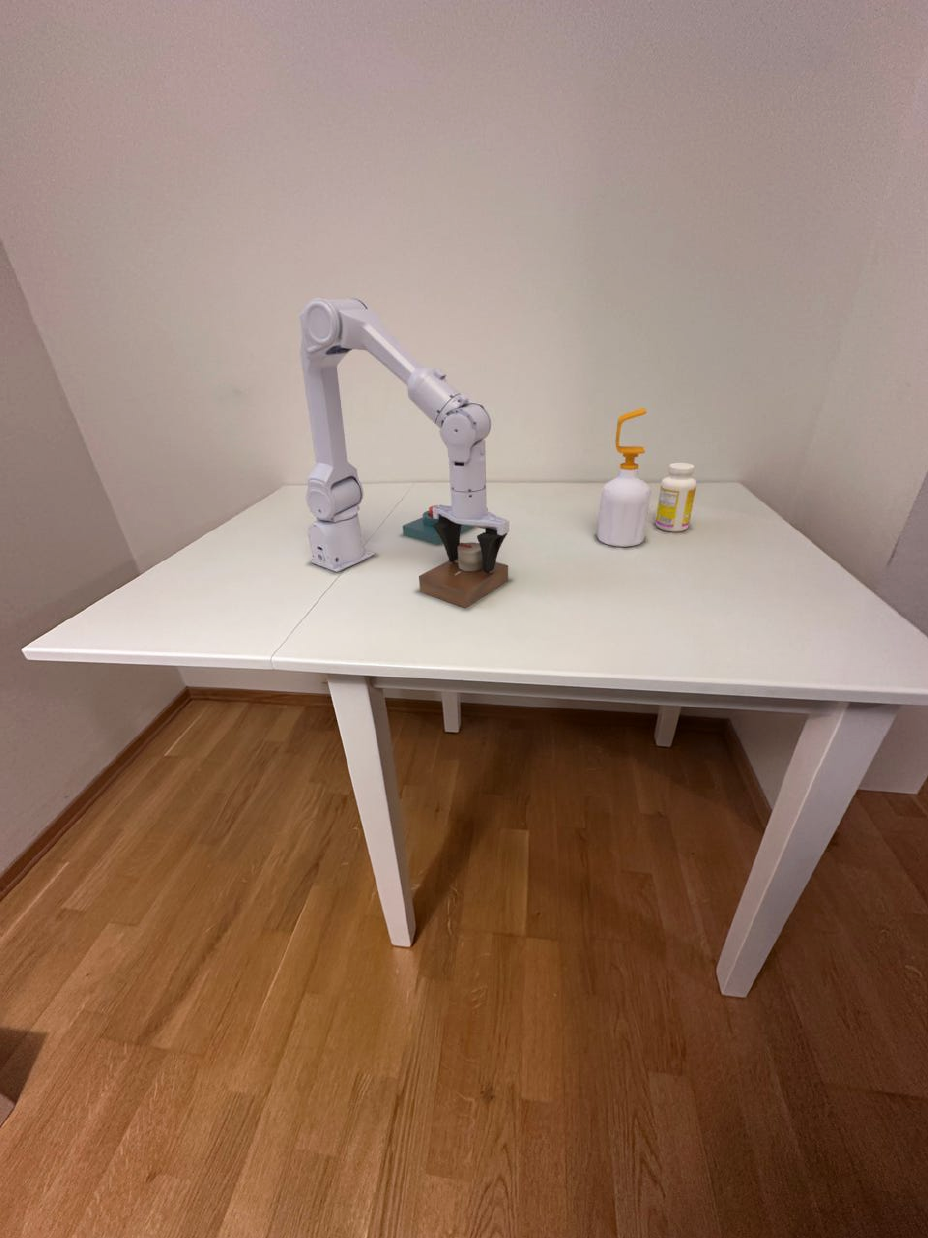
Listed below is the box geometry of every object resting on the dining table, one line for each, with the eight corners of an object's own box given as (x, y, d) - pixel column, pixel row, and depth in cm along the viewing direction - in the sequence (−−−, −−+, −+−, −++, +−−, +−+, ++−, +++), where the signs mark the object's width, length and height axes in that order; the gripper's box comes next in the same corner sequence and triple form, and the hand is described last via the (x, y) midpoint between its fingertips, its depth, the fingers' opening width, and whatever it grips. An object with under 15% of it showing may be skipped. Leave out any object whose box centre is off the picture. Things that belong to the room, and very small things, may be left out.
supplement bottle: (683, 521, 110) (695, 460, 104) (692, 532, 105) (704, 469, 98) (651, 521, 111) (660, 461, 104) (658, 532, 105) (668, 470, 99)
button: (438, 519, 107) (438, 511, 106) (426, 516, 109) (425, 508, 108) (449, 514, 110) (449, 506, 109) (437, 511, 112) (436, 503, 111)
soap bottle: (645, 548, 99) (666, 413, 86) (597, 546, 100) (610, 414, 88) (641, 531, 106) (660, 405, 94) (596, 530, 108) (608, 405, 95)
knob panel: (465, 608, 82) (464, 591, 80) (420, 591, 87) (418, 575, 86) (509, 579, 90) (509, 563, 88) (465, 566, 95) (464, 550, 94)
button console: (438, 545, 105) (436, 526, 102) (403, 535, 110) (401, 517, 108) (474, 527, 112) (473, 509, 110) (440, 518, 118) (439, 502, 116)
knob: (489, 564, 88) (488, 544, 86) (473, 573, 86) (472, 552, 84) (469, 558, 91) (468, 538, 89) (453, 567, 88) (452, 547, 86)
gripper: (520, 487, 80) (519, 566, 87) (450, 474, 88) (454, 547, 95) (493, 499, 75) (494, 582, 82) (421, 484, 83) (428, 561, 90)
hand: (471, 564), depth 88 cm, fingers open, 7 cm apart
